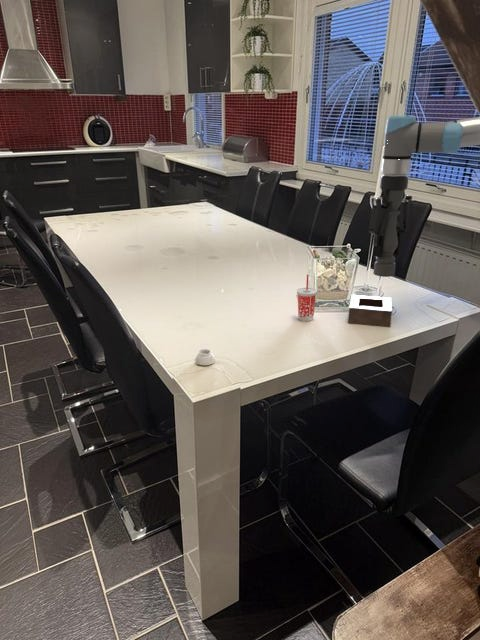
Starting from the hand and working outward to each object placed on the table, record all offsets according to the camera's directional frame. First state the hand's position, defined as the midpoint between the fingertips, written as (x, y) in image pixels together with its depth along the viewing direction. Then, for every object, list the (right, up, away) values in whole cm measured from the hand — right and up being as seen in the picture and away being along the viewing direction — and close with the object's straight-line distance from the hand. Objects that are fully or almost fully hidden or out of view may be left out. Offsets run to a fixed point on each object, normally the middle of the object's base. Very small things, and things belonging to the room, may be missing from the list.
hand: (385, 255), depth 140 cm
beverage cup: (-23, -19, +5) cm, 31 cm away
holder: (-4, -19, +4) cm, 20 cm away
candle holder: (0, -6, +2) cm, 6 cm away
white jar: (-53, -30, -22) cm, 65 cm away
